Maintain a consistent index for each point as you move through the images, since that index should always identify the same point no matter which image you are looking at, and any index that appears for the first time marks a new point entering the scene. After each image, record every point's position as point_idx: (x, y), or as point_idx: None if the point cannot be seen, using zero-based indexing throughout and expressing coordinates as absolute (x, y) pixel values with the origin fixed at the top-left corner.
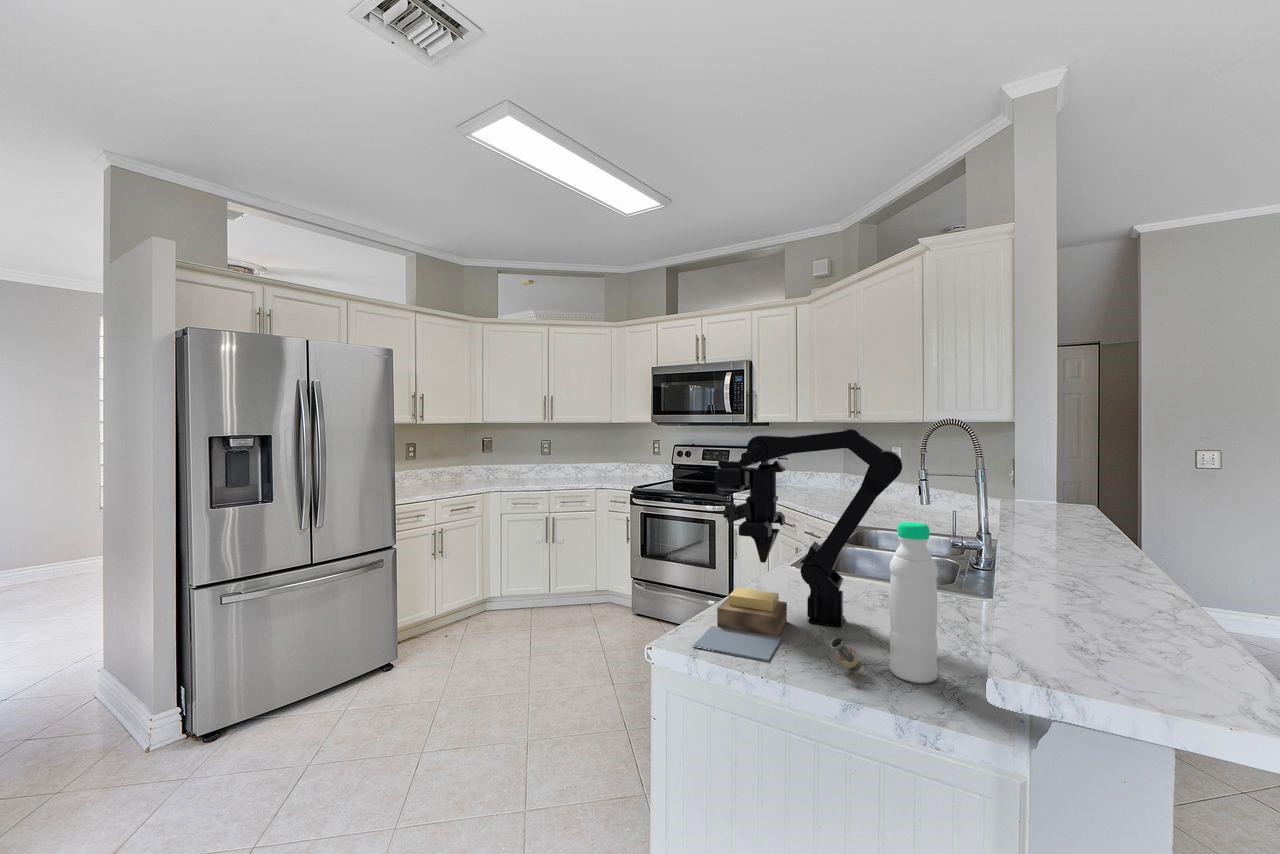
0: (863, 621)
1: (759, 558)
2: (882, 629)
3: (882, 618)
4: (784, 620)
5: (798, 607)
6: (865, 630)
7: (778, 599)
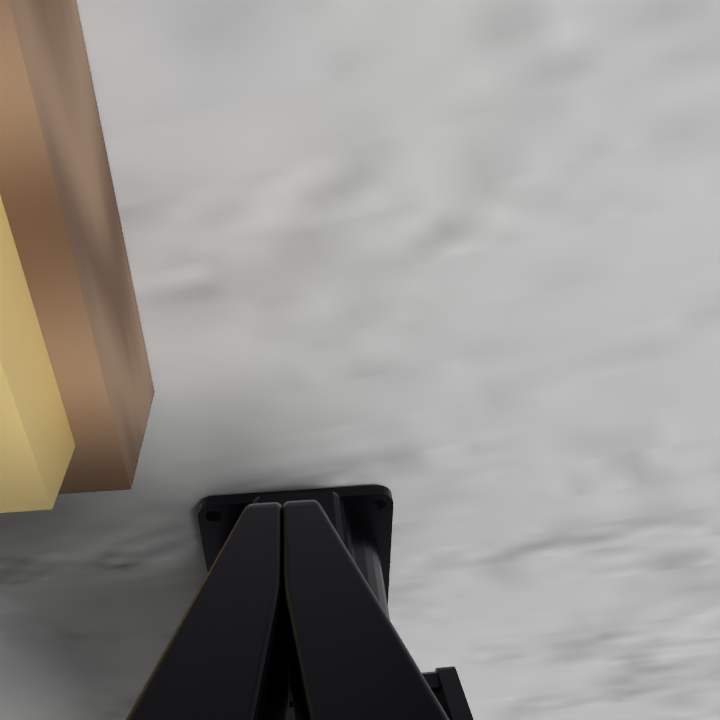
0: None
1: (227, 547)
2: None
3: None
4: None
5: (487, 391)
6: None
7: (63, 466)
